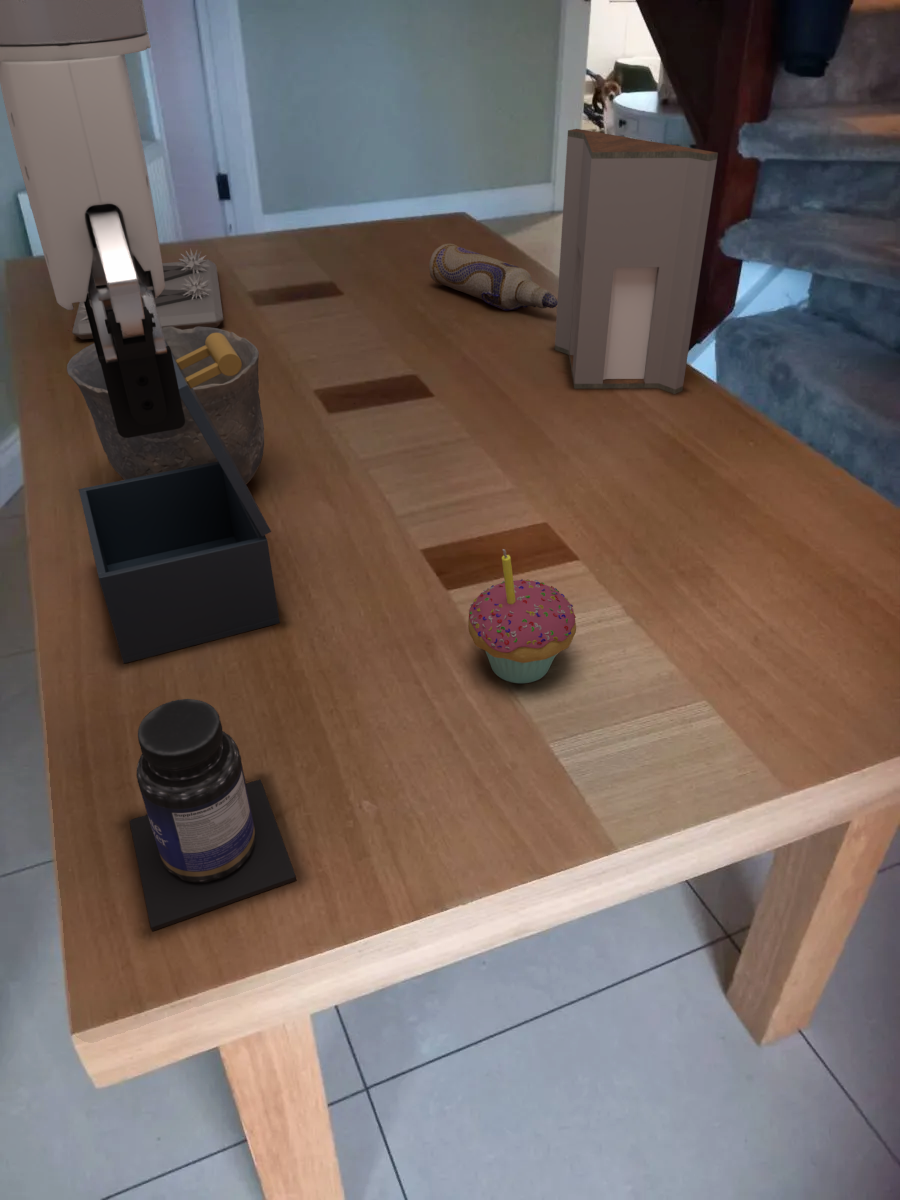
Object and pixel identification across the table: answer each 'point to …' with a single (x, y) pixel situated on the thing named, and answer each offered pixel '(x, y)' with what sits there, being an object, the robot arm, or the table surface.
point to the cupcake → (521, 626)
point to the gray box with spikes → (178, 297)
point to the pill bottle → (194, 791)
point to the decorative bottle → (487, 279)
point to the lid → (228, 366)
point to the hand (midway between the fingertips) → (140, 393)
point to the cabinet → (630, 259)
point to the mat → (188, 899)
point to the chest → (178, 560)
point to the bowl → (221, 397)
